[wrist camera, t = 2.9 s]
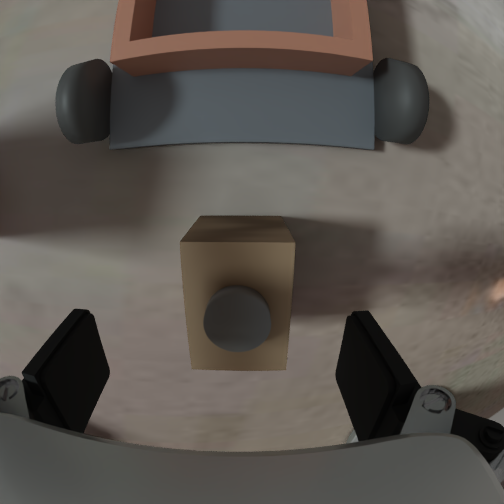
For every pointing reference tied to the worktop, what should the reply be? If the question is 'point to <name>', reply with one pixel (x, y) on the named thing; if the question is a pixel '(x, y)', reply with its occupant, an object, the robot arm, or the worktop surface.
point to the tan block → (238, 292)
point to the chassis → (242, 78)
